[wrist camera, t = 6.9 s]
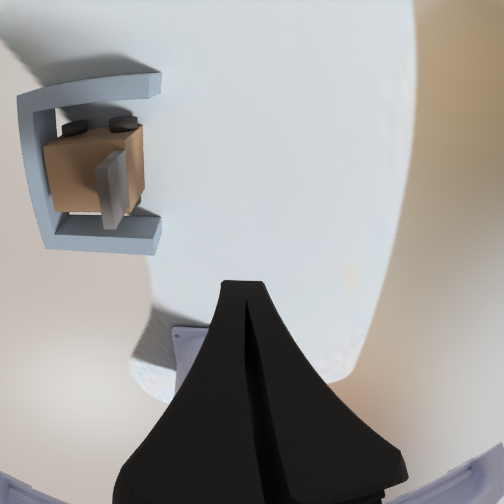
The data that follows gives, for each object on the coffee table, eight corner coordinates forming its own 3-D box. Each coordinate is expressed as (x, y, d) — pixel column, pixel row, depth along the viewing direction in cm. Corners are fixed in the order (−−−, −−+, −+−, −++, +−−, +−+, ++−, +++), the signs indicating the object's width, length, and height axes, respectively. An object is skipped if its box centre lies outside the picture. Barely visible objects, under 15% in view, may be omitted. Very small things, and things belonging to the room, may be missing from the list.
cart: (145, 195, 17) (119, 249, 13) (78, 195, 16) (38, 244, 12) (143, 115, 14) (105, 142, 10) (69, 121, 13) (15, 152, 9)
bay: (162, 232, 19) (154, 255, 17) (60, 228, 18) (45, 248, 16) (161, 72, 13) (149, 74, 11) (40, 88, 11) (16, 95, 10)
